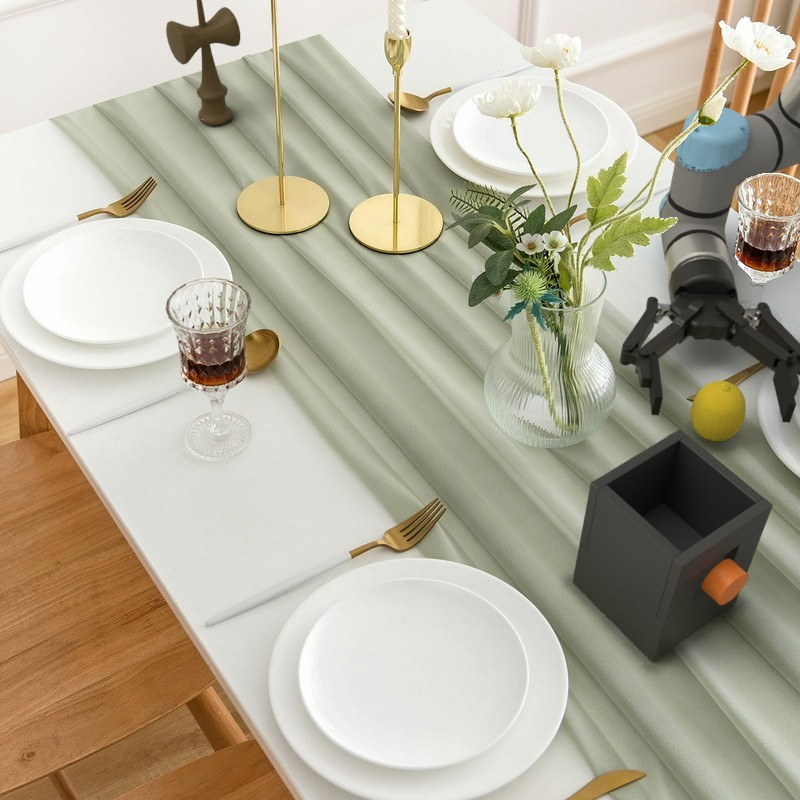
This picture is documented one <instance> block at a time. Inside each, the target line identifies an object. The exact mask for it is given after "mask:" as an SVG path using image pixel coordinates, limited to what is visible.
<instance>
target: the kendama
mask: <svg viewBox="0 0 800 800" xmlns="http://www.w3.org/2000/svg"><path fill="white" fill-rule="evenodd" d="M195 2H196V10H197V11H196V12H197V20H198V24H197V25H192V26H189V25H185V24H182V23H181V22H176V21H175V20H170V21H168V22H166V28H165V33H166V39H167V42H168V46H169V49H170V52H171V53H172V55H173V58H175V60H176V61H177V62H178V63H179V64H181V65H187V64H188V63H189V62H190V61H191V60H192V59H193V57H194V55H195V54H196V53H198V50H200V52H201V81H200V86H199V87H198V88H197V90H196V94H197V96H198V98H200V101H201V108H200V110H199V111H198V115H197V117H198V119H199V120H200V122H202V123H203V124H205V125H208V126H218V125H219V126H220V125H223V124H225V123H227V122H229V121H230V120H231V119H232V118H233V114H234V113H233V111H232V109H231V107H229V106H227V103H226V96H227V95H228V91H229V89H228V87H227V86H226V85H225V84H224V83H222V81H221V79H220V75H219V73H218V69H217V67H216V62H215V60H214V55H213V51H212V47H211V45H213V44H221V45H225V46H229V47H234V48H235V47H238V46H240V43H241V29H240V25H239V22H238V20H237V17H236V16H235V14H234V13H233V11H232V10H231V9H230V8H229V7H227V6H223V7H221V8H220V9H218V10H217V11H216V13H215V14H214V15H213V16H212V17H211V18H210V19H209V20H207V21H206V16H205V11H204V10H205V9H204V5H203V0H196V1H195ZM202 119H203V120H202Z"/></svg>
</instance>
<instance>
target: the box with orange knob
mask: <svg viewBox="0 0 800 800" xmlns="http://www.w3.org/2000/svg"><path fill="white" fill-rule="evenodd" d="M585 506H586V507H585V512H584V516H583V517H584V518H583V522H582V529H581V534H580V539H579V544H578V549H577V555H576V561H575V566H574V570H573V571H574V572H573V577H572V583H573V585H574V586H576V587H577V588H578V590H580V591H581V592H582V594H583V595H585V596H586V597H587V599H588V600H589V601H590V602H592V604H593V605H595V607H597V608H598V610H600V612H601V613H602V614H604V615H605V617H607V619H608V620H610V621H611V623H613V624H614V626H615V627H616V628H617V629H619V630H620V631H621V633H622V634H623V635H625V636H626V638H628V640H629V641H630V642H632V643H633V644H634V645H635V647H637V649H638V650H639V651H640V652H641V653H642V654H643V655H644V656H645V657H647V659H648V660H649V661H650V662H651V663H655V662H657V661H658V660H659V659H660V658H662V657H664V655H666V654H667V653H669V652H670V651H672V650H673V649H675V648H676V647H678V645H680V644H681V643H683V642H684V641H686V640H687V639H689V638H690V637H691V636H693V635H694V634H696V633H697V632H699V630H701V629H702V628H704V627H705V626H706V625H708V624H710V623H711V622H712V621H714V619H717V618H718V617H720V616H721V615H722V614H723V613H725V612H726V611H727V610H729V609H731V608H732V607H733V606H735V605H736V603H737V600H738V598H739V595H740V592H741V591H740V592H739V593H738V594H737V595H736V596H735V597H734V598H733V599H732V600H730V601H729V602H728V603H726V604H724V605H719V604H718V603H717V602H716V601H715V600H714V599H713V598H711V597H710V596H709V595H708V594H707V593H706V592H705V591H704V590H703V589H702V584H703V581H704V579H705V578H706V576H707V575H708V574H709V572H710V571H711V570H712V569H713V568H714V567H715V566H716V565H718V564H719V563H720V562H722V561H723V560H725V559H731V560H732V561H734V562H735V563H736V564H737V565H738V566H739V567H740V568H742V569H743V570H744V571H745V572H746V573H747V574H748V572H749V569H750V567H751V564H752V561H753V558H754V556H755V553H756V551H757V548H758V545H759V543H760V540H761V537H762V535H763V532H764V531H765V528H766V525H767V523H768V519H769V516H770V514H771V512H772V509H773V506H774V504H773V503H771V502H770V501H769V500H768V499H767V498H765V497H764V496H763V495H762V494H760V493H759V492H758V491H756V490H755V489H754V488H753V487H752V486H750V484H748V483H747V482H746V481H744V480H743V479H742V478H741V477H740V476H738V475H737V474H736V473H735V472H734V471H732V470H731V469H730V468H728V467H727V466H726V465H725V464H724V463H722V462H721V461H720V460H718V459H717V458H716V457H715V456H714V455H712V454H711V452H709V451H708V450H706V449H705V448H704V447H702V446H701V445H700V444H699V443H698V442H696V441H695V439H693V438H691V437H690V436H689V435H687V434H686V432H684V431H683V430H682V429H681V428H678V429H677V430H675V431H674V432H673V433H671V434H669V435H667V436H666V437H664V438H663V439H660V440H659V441H657V442H656V443H654V444H653V445H650V446H649V447H648V448H646V449H644V450H642V451H640V452H639V453H638V454H636V455H634V456H632V457H630V458H629V459H627V460H626V461H624V462H622V463H621V464H620V465H617V466H616V467H614V468H613V469H611V470H609V471H608V472H606V473H604V474H603V475H601V476H600V477H598V478H596V479H594V480H593V481H590V485H589V491H588V496H587V501H586V505H585Z"/></svg>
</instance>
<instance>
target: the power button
mask: <svg viewBox="0 0 800 800" xmlns="http://www.w3.org/2000/svg"><path fill="white" fill-rule="evenodd" d="M749 577H750V576H749V573H748V572H747V573H746V572H745V571H744V570H743V569H742V568H740V567H739V566H738V565H737V564H736V563H735V562H734V561H732V560H731V559H725V560H723V561H722V562H720V563H719V564H718V565H716V566H715V567H714V568H713V569H712V570H711V571H710V572H709V574H708V575H707V576H706V578H705V579H704V581H703V584H702V589H703V590H704V591H705V592H706V593H707V594H708V595H709V596H710V597H711V598H713V599H714V600H715V601H716V602H717V603H718V604H719V605H724V604H726V603H728V602H729V601H730V600H732V599H733V598H734V597H735V596H736V595H737V594H738V593H739V592H741V591H742V590H743V589H744V587H745V586H746V585H747V583H748V580H749ZM739 594H740V593H739Z"/></svg>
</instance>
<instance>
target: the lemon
mask: <svg viewBox="0 0 800 800" xmlns="http://www.w3.org/2000/svg"><path fill="white" fill-rule="evenodd" d="M690 409H691V410H690V419H691V420H690V421H691V424H692V427H693V428H694V430H695V431H696V433H697V434H698V435H699V436H701V437H702V438H704V439H705V440H708V441H710V442H711V441H712V442H722V441H726V440H729V439H730V438H732V437H733V436H735V435H736V434H737V433H738V432H739V430H740V429H741V427H742V426H743V423H744V420H745V419H746V413H747V411H746V410H747V409H746V398H745V396H744V394H743V392H742V390H740V388H739V387H738V386H736V385H735V384H733V383H732V382H730V381H725V380H715V381H711V382H709V383H706V384H704V386H702V387H701V388H700V390H698V392H697V394H696V395H695V397H694V399H693V401H692V404H691V408H690Z"/></svg>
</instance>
